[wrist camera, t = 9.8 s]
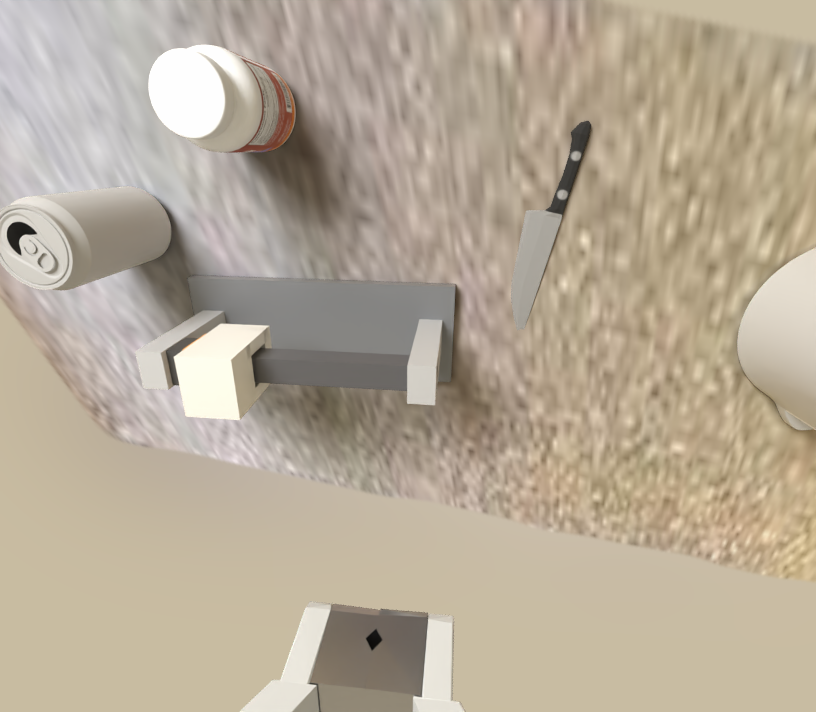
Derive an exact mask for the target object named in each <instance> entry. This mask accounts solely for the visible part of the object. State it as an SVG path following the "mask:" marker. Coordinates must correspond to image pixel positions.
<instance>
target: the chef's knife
mask: <svg viewBox="0 0 816 712" xmlns="http://www.w3.org/2000/svg"><path fill="white" fill-rule="evenodd" d="M590 128H591V124H590V122H589V121H585V122H582V123H580V124H579V125H578V126H577V127H576V128H575V129H574V130H573V131H572V132H571V135H572V143H571V149H570V155H569V158H568V161H567V164H566V167H565V170H564V173H563V176H562V179H561V181H560V183H559V186H558V188H557V191H556V193H555V196H554V199H553V202H552V204H551V207H549V208H548V209H546V210H528V211H526V214H525V219H524V224H523V229H522V234H521V239H520V244H519V249H518V254H517V259H516V264H515V269H514V274H513V279H512V289H511V301H512V308H513V315H514V320H515V324H516V328H517V330H519V329H524V328H525V325H526V322H527V319H528V316H529V313H530V311H531V308H532V305H533V302H534V299H535V296H536V293H537V290H538V287H539V284H540V281H541V278H542V276H543V273H544V270H545V267H546V264H547V261H548V258H549V255H550V252H551V249H552V246H553V243H554V240H555V237H556V234H557V231H558V228H559V225H560V222H561V219H562V215H563V212H564V209H565V206H566V203H567V200H568V197H569V194H570V191H571V188H572V185H573V182H574V179H575V176H576V174H577V171H578V168H579V165H580V162H581V159H582V156H583V153H584V150H585V147H586V144H587V141H588V138H589V134H590Z"/></svg>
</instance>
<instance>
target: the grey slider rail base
mask: <svg viewBox="0 0 816 712" xmlns="http://www.w3.org/2000/svg"><path fill="white" fill-rule="evenodd" d="M187 279H188V285H189V291H190V296H191V302H192V307H193V313H194V316H193V317H191V318H190V319H188V320H186V321H185V322H183V323H181V324H180V325H178V326H176V327H175V328H173V329H171V330H170V331H168V332H166V333H165V334H163V335H161V336H160V337H158V338H156V339H155V340H153V341H152V342H150V343H148V344H147V345H145V346H143V347H142V348H140V349H138V350H137V351H135V354H136V359H137V363H138V367H139V371H140V376H141V380H142V384H143V388H147V389H164V390H169V389H170V388H171V387H173V386H174V385H179V381H178V376H177V371H176V366H175V361H174V356H176V355H177V354H178V353H180V352H181V351H183V350H184V349H186V348H187V347H188V346H190V345H191V344H193V343H194V342H195V341H197V340H198V339H200V338H201V337H203V336H204V335H205V334H207V333H208V332H210V331H211V330H213V329H214V328H215V327H217V326H218V325H220V324H242V325H265V326H269V328H270V337H271V346H272V348H259V349H258V350H257V351H256V352H255V353H254V354H253V355H252V356H251V358H252V366H253V373H254V381H255V383H273V384H291V385H309V386H327V387H345V388H363V389H381V390H399V391H407V404H422V405H435V401H436V393H437V384H438V381H440V382H451V371H452V349H453V328H454V307H455V285H456V284H439V283H409V282H380V281H350V280H320V279H291V278H261V277H231V276H202V275H192V276H190V277H188V278H187Z"/></svg>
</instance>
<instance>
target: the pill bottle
mask: <svg viewBox="0 0 816 712" xmlns="http://www.w3.org/2000/svg"><path fill="white" fill-rule="evenodd" d="M149 95H150V99H151V103H152V106H153V108H154V110H155V112H156V114H157V115H158V117H159V118H160V120H161V121H162V122H163V124H164V125H165V126H166V127H167V128H169V129H170V130H171V131H172V132H174V133H176V134H177V135H179V136H182V137H185V138H187V139H188V140H189V141H191V142H192V143H194V144H195V145H197V146H199V147H201V148H203V149H206V150H209V151H214V152H224V153H227V152H267V151H271V150H274V149H276V148H278V147H280V146H281V145H282V144H284V143H285V142H286V140H287V139H288V138H289V136H290V135H291V133H292V130H293V128H294V124H295V117H296V110H295V103H294V99H293V96H292V93H291V91H290V89H289V87H288V85H287V84H286V82H285V81H284V80H283V79H282V78H281V77H280V76H279V75H278V74H277V73H276V72H275V71H273V70H271V69H270V68H268V67H266V66H264V65H262V64H259V63H257V62H254V61H252V60H250V59H247V58H245V57H243V56H240V55H238V54H236V53H234V52H231V51H229V50H227V49H224V48H221V47H218V46H213V45H197V46H193V47H190V48H188V49H182V48H180V49H173V50H170V51H167V52H165V53H164V54H162V55H161V56H160V57H159V58H158V59H157V60H156V62H155V63H154V65H153V67H152V69H151V72H150V76H149Z"/></svg>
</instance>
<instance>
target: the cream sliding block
mask: <svg viewBox="0 0 816 712" xmlns="http://www.w3.org/2000/svg"><path fill="white" fill-rule="evenodd" d="M259 348H272V346H271V337H270V328H269V326H265V325H242V324H220V325H218V326H217V327H215V328H214V329H213V330H211V331H210V332H208V333H207V334H205V335H204V336H203V337H201V338H200V339H198V340H197V341H195V342H194V343H193V344H191V345H190V346H188V347H187V348H186V349H184V350H183V351H181V352H180V353H178V354H177V355H176V356H174V361H175V366H176V371H177V376H178V381H179V386H180V390H181V395H182V400H183V405H184V410H185V415H186V417H201V418H216V419H232V420H240V419H241V418H242V417H243V416H244V415H245V413H246V412H247V411H248V410H249V409H250V408H251V406H252V405H253V404H254V403H255V402H256V400H257V399H258V398H259V397H260V396H261V394H262V393H263V392H264V391H265V390H266V388H267V387H268V386H269V385H270V384H271V383H255V381H254V373H253V366H252V358H251V356H252V355H253V354H254V353H255V352H256V351H257V350H258V349H259Z"/></svg>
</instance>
